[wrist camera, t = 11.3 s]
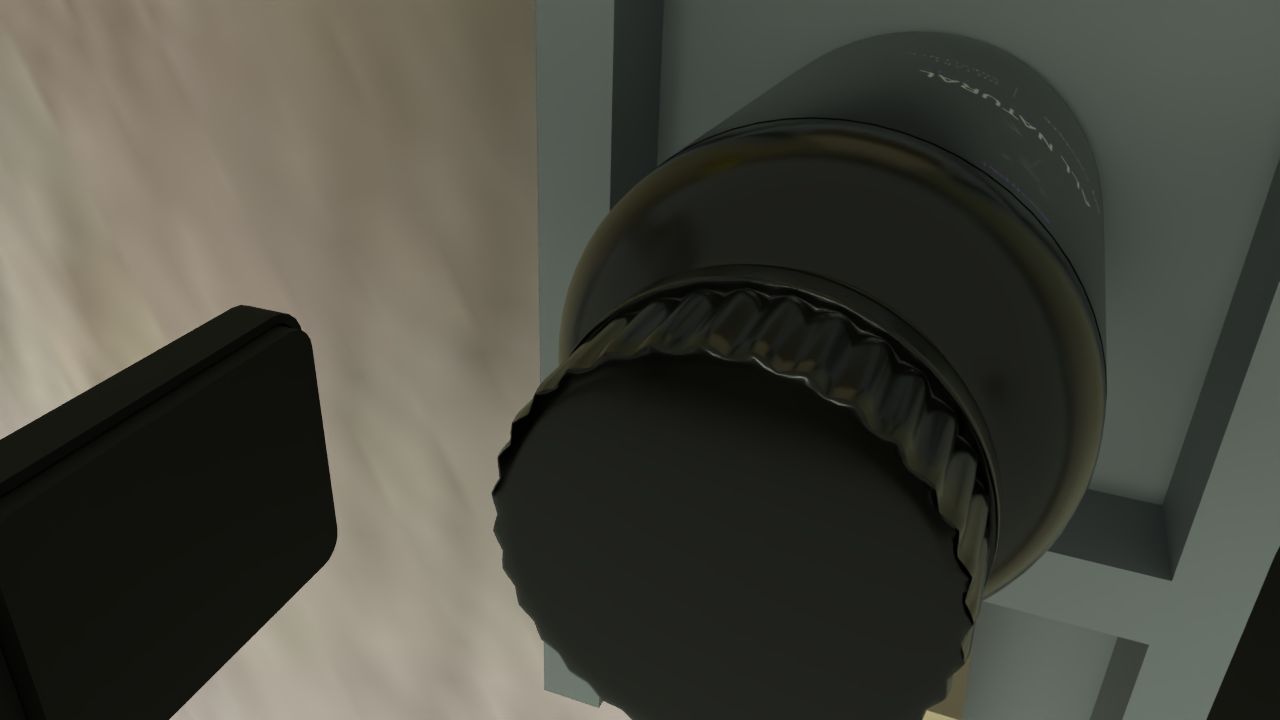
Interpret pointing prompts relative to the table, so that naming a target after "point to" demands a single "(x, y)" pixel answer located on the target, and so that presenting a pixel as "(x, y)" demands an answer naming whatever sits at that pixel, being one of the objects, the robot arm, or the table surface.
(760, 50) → the rail rack
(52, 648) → the robot arm
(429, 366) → the table surface
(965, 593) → the supplement bottle
